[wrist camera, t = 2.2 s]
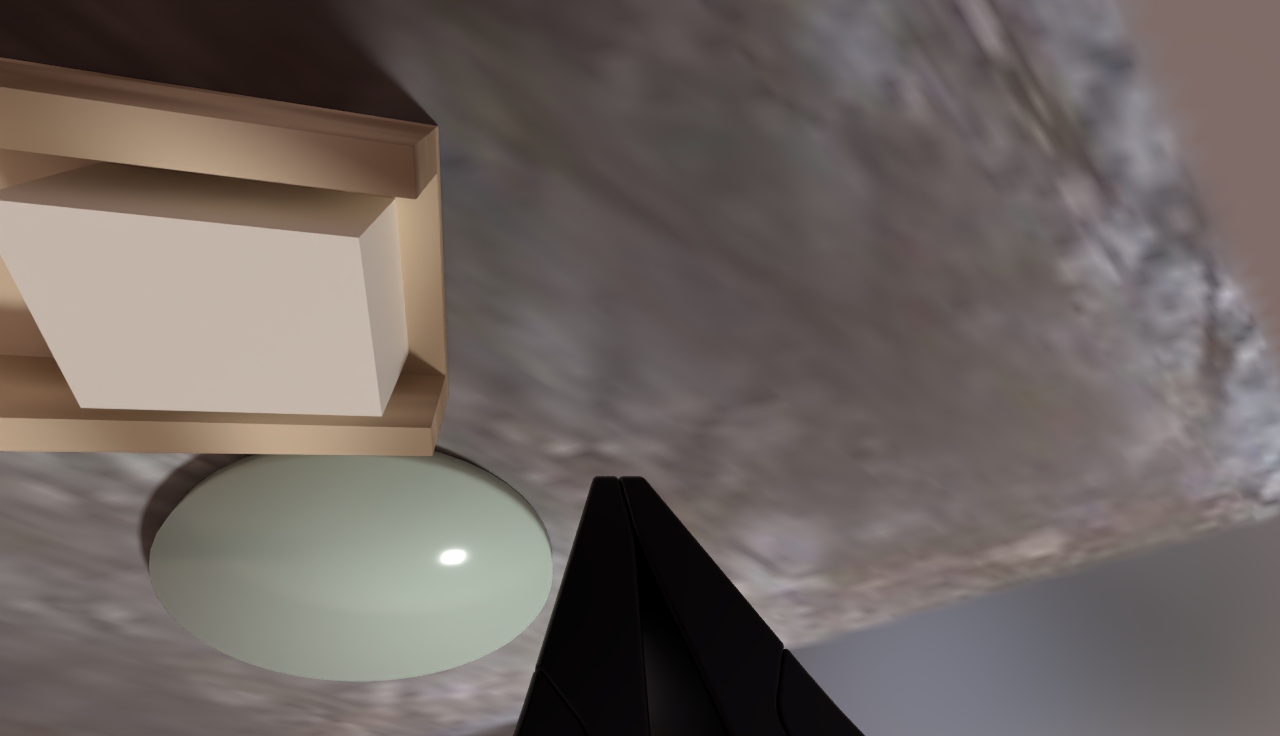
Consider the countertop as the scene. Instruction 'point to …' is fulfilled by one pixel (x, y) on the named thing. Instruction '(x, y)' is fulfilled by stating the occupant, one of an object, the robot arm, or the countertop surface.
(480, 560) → the green plate
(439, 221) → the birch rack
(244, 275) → the cream block
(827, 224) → the countertop surface
